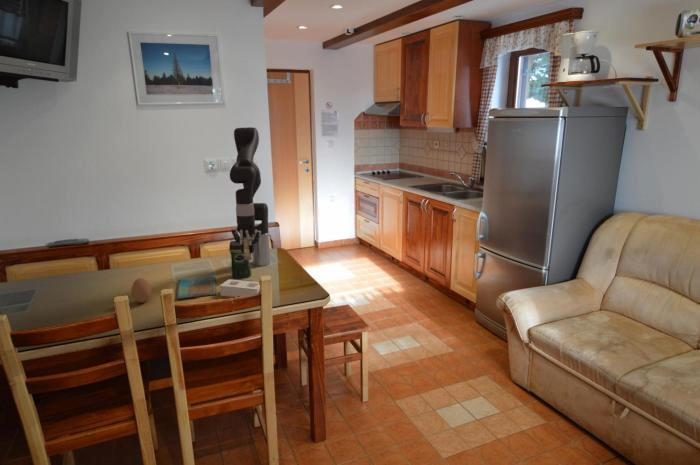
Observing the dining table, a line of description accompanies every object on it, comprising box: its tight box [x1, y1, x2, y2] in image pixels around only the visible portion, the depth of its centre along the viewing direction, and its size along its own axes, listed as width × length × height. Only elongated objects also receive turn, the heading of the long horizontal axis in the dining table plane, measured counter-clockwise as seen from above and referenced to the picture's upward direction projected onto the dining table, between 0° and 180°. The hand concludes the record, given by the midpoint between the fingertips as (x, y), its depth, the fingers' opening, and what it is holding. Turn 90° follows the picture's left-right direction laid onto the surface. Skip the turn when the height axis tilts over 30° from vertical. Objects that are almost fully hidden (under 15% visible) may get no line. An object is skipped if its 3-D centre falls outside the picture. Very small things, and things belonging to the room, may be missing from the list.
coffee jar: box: [228, 240, 252, 279], centre depth 214 cm, size 10×8×19 cm
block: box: [219, 278, 260, 298], centre depth 193 cm, size 8×18×5 cm, turn 76°
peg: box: [243, 237, 253, 261], centre depth 188 cm, size 3×3×10 cm
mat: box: [233, 278, 252, 281], centre depth 206 cm, size 10×10×1 cm
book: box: [176, 275, 218, 302], centre depth 201 cm, size 17×23×2 cm
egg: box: [131, 277, 152, 303], centre depth 185 cm, size 8×8×11 cm
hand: (247, 252), depth 188 cm, fingers closed on peg, 3 cm apart
